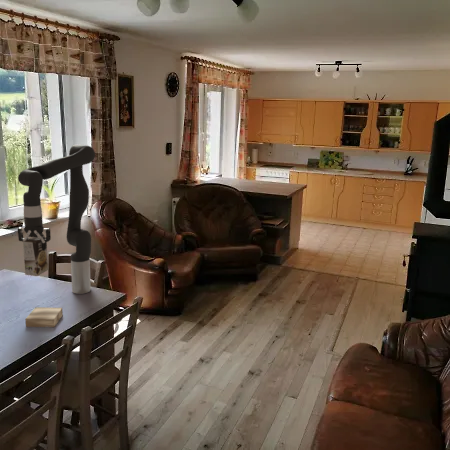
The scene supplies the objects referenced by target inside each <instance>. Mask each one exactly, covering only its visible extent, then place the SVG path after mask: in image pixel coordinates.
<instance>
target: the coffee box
mask: <svg viewBox="0 0 450 450" xmlns="http://www.w3.org/2000/svg"><path fill="white" fill-rule="evenodd" d="M44 237H45V238H46V236H44ZM22 243H23V244H22V245H23V246H22V247H23V258H24V260H23V261H24V275H25V276H31V277H38V276H40V275H42V274H44V273H45V272H47V271H49V259H48V247H47V248H46V250H45V251H43V250H42V243H43V242H42V241H41V240H40V239H39V238H38V237H29V239H28V240H25V241H23V242H22Z"/></svg>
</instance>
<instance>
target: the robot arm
mask: <svg viewBox="0 0 450 450" xmlns="http://www.w3.org/2000/svg"><path fill="white" fill-rule="evenodd" d="M68 154H69V155H67V156H64V157H63V156H62V157H60V158H59V157H58V158H55V159H51V160H48V161H46V162H44V163H43V164H40V165H36V166H33V167H29V168H26V169H23V170H22V171H21V172H19V174H18V179H17V180H18V182H19V184H20V185H22V186H24V187H28V189H27V191H25V192H24V193H23V194H22V195H23V197H22V201H23V220H24V221H23V222H24V227H22V226H20V227H18V228H17V237H18V241H19V242H22V243H23V241H25V240H28V239H30V238H33V237H38V238H39V239H40V240H41V241H42V242H43V243H42V250H43V251H45V250H46V248H47V249H48V246H47V245H48V244H47V243H49V241H51V239H52V237H51V228H50V227H48V228H46V227H45V228H44V226H43V225H44V224H43V209H42V204H41V202H42V201H41V200H42V199H41V194H42V190H43V184H44V180H49V179H51V178H54V177H56V176H58V175H59V174H62V173H64V172H66V171H69V172H70V173H69V176H70V177H69V206H68V207H69V208H68V223H67V228H66V229H67V230H66V242H67V244H69V245H70V246H74V247H75V252H72V253H71V255H70V266H71V267H70V272H71V273H70V274H71V292H72V293H74V294H78V295H82V294H87V293H89V292H90V291H91V290H92V289H91V286H92V285H91V264H90V263H91V262H90V261H91V259H90V256H91V253H92V235H91V233H90V231H88V230H86V229H84V228H82V227H81V226H82V225H81V224H82V217H83V215H84V214H85V212H86V210H87V208H88V206H89V201H90V189H89V186H88V183H87V181H86V179H85V176H84V172H83V166H85V165H88V164H89V165H90V163H92V162H93V161H94V160H95V159H96V158H95V157H96V152H95V150H94V148H93V147H92V146H90V145H86V144H79V143H78V144H77V143H76V144H73V145H72V146H71V147H70V149H69V151H68ZM24 232H25V233H26V234H25V236H24ZM43 232H44V234H45V235H44V234H43ZM45 237H46V238H45Z"/></svg>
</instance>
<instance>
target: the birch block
mask: <svg viewBox="0 0 450 450" xmlns="http://www.w3.org/2000/svg"><path fill="white" fill-rule="evenodd" d="M63 313H64V312H63V307H37V306H36V307H34V308H33V310H32V311H31V312H30V313H29V314H28V315H27V317H25V327H27V328H28V327H29V328H32V327H33V328H55V327H56V325H57V324H58V322H59V321H60V319H62V317H63V315H64V314H63Z"/></svg>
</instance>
